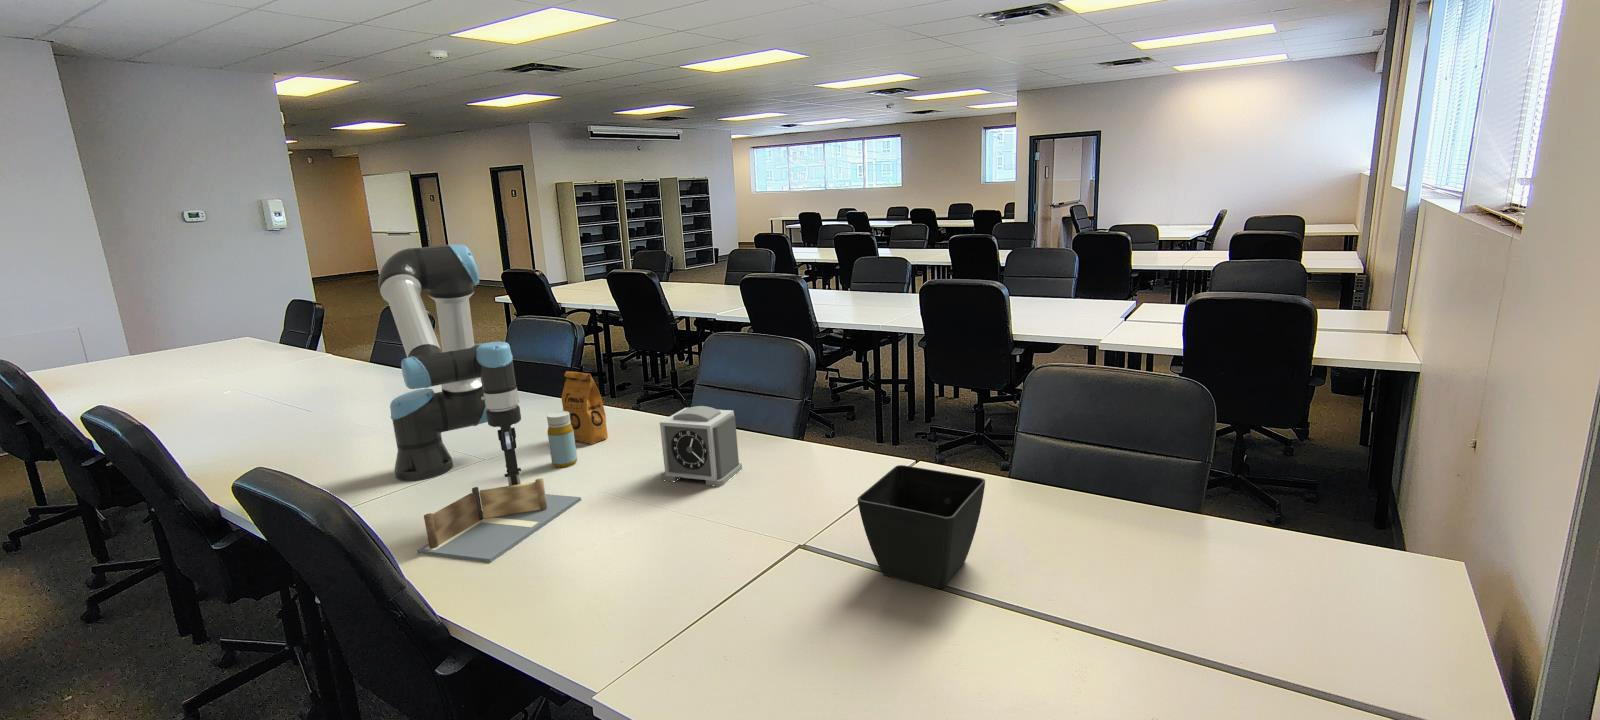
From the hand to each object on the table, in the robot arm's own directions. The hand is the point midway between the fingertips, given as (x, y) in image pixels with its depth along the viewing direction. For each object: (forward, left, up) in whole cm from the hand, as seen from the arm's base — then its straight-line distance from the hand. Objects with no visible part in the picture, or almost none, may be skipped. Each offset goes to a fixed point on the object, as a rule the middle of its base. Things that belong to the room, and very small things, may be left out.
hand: (516, 498), depth 185 cm
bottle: (-23, +23, -4) cm, 33 cm away
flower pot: (+92, +43, -4) cm, 101 cm away
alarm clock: (+16, +44, -4) cm, 47 cm away
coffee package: (-38, +38, -4) cm, 54 cm away
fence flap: (+2, -2, -2) cm, 4 cm away
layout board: (+5, -5, -4) cm, 8 cm away
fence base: (+2, -15, -3) cm, 16 cm away
